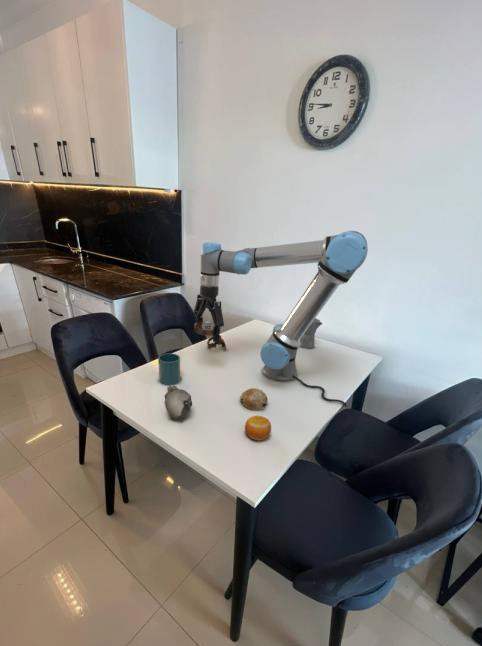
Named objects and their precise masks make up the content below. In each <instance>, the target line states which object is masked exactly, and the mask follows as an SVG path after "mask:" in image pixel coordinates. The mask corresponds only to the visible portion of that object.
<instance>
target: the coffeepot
mask: <svg viewBox="0 0 482 646" xmlns="http://www.w3.org/2000/svg"><path fill="white" fill-rule="evenodd" d="M322 325H323V322H321V320H320V319H318V318H317V317H316V318H315V319H314V321H313V322H312V323H311V325H310V326H309V327H308V329H307V330H306V332H305V333H304V334H303V336H302V337H301V338H300V343H301V345H300V346H299V347H301V348H304V349H313V348H314V347H315V340H316V339H315V338H316V336H315V334H316V332H317V330H318V329H319V327H320V326H322Z"/></svg>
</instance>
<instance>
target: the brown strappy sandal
mask: <svg viewBox="0 0 482 646" xmlns="http://www.w3.org/2000/svg"><path fill="white" fill-rule="evenodd" d="M212 341H213V335H212V336H211V337H209V338H208V339H207V342H206V344H207V345H206V347H207V348H208V349H214V348H215V349H218V347H217V345H218V346H221V347H222V348H223V349H224V351H225V352H226V351H227V346H226V345H227V344H226V342H225V340H224V338H222V335H220V334H219V341H216V342H212ZM211 342H212V343H211Z"/></svg>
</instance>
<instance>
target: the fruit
mask: <svg viewBox="0 0 482 646" xmlns="http://www.w3.org/2000/svg"><path fill="white" fill-rule="evenodd" d="M244 431H245V434H246V435H247V436H248V437H249V438H250V439H251V440H255V441H261V440H265V439H266V438H268V437H269V436H270V434H271V432H272V423H271V421H270V420H269V419H268V418H266V417H265V416H263V415H262V416H261V415H252V416H250V417H249V418H247V420H246V422H245V424H244Z"/></svg>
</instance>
